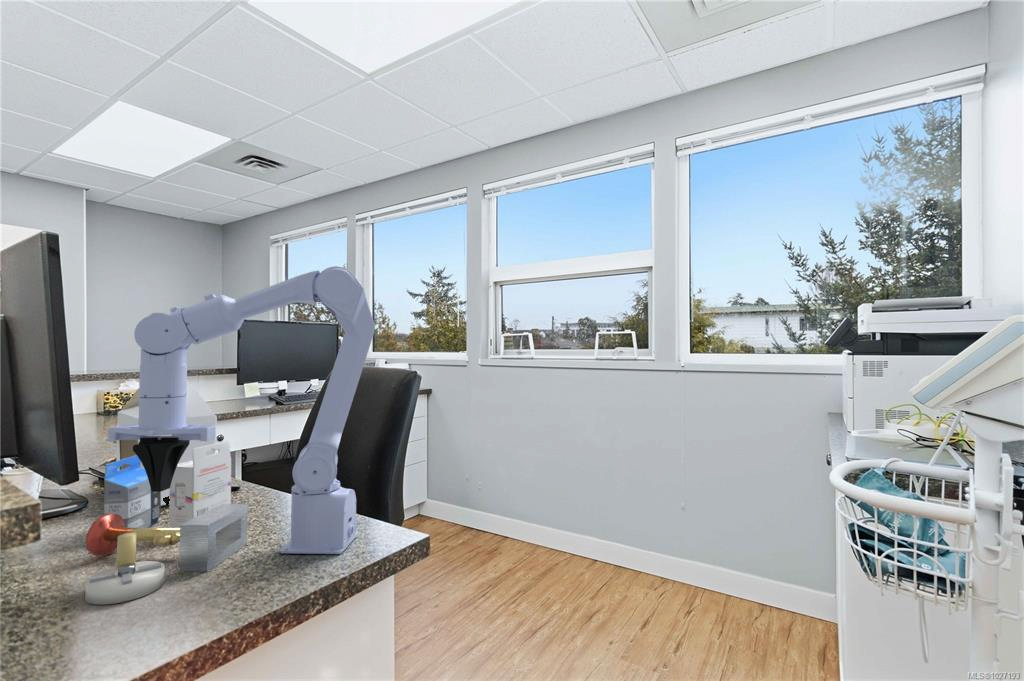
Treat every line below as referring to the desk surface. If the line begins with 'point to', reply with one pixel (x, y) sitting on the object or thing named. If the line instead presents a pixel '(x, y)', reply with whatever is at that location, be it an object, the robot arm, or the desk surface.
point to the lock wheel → (124, 577)
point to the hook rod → (112, 525)
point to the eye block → (212, 537)
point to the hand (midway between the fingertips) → (160, 489)
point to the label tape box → (131, 494)
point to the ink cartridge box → (200, 484)
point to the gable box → (195, 415)
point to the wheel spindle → (126, 569)
